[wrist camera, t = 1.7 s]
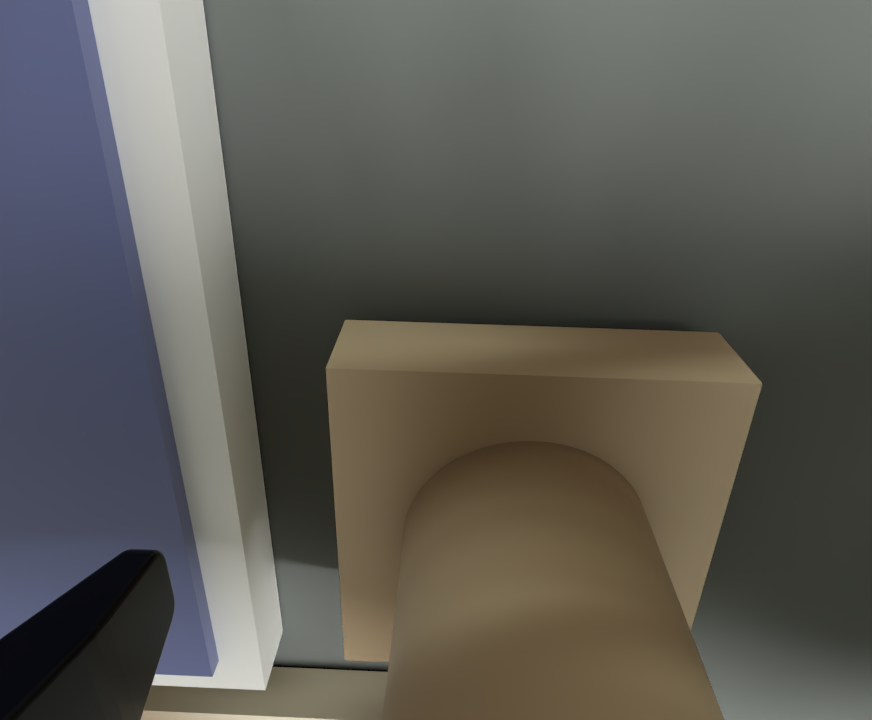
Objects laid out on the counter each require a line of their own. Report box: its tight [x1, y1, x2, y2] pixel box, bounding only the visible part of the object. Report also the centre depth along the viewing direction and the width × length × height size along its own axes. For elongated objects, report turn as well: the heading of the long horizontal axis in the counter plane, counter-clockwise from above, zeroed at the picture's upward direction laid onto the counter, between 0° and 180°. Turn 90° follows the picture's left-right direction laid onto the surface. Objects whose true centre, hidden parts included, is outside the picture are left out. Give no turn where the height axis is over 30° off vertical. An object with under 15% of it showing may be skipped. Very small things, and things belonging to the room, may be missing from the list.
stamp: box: [326, 320, 762, 720], centre depth 7 cm, size 5×5×7 cm
